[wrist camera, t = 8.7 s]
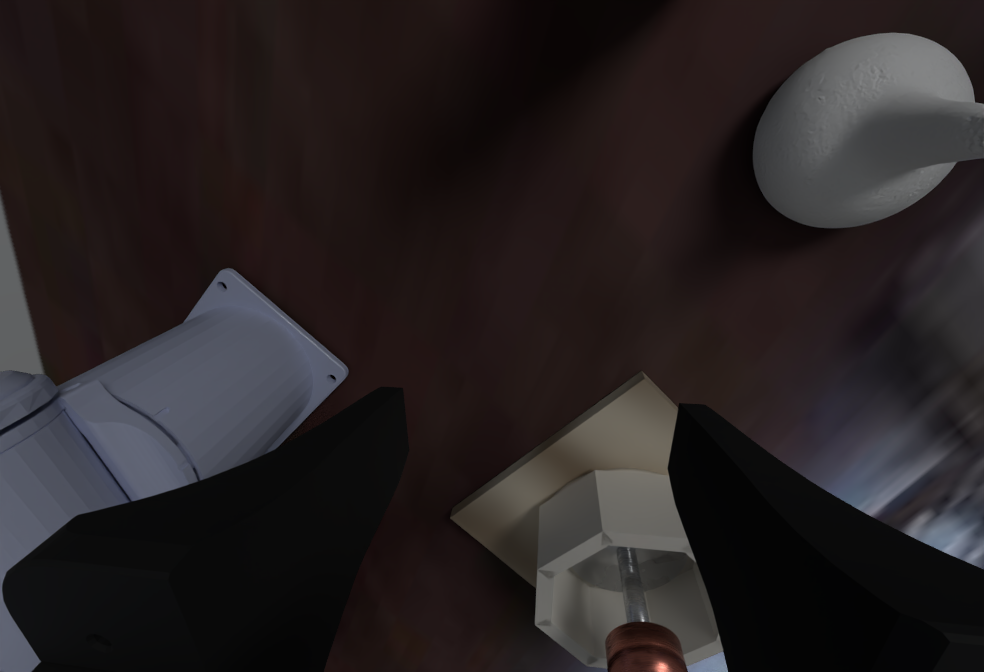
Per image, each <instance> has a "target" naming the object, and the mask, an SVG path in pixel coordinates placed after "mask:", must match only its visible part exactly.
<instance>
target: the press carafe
mask: <svg viewBox="0 0 984 672" xmlns="http://www.w3.org/2000/svg"><path fill="white" fill-rule="evenodd" d="M609 545H610V546H621V547H632V548H643V549H653V550H664V551H675V552H685V553H686V554H687V555H688V558H687V561H686V564H685V565H684V567H683V569H682V570H681V572H680V573H679V574H678V575H677V576H676V577H675V578H673V579H672V580H671V581H669V582H668V583H666V584H664V585H662V586H660V587H658V588H655V589H651V590H648V591H644V596H645V601H646V606H647V611H648V616H649V621H650V622H651V623H656V624H659V625H662V626H664V627H666V628H668V629H670V630H671V631H672V632H674V633H675V634H676V636H677V637H678V638H679V640H680V643H681V647H682V651H683V655H684V659H685V663H686V666H689V665H691V664H694V663H696V662H698V661H701V660H703V659H706V658H708V657H710V656H713V655H715V654H718V653H720V652H723V648H722V644H721V640H720V636H719V632H718V628H717V624H716V621H715V617H714V613H713V609H712V606H711V603H710V600H709V597H708V594H707V590H706V587H705V585H704V582H703V579H702V577H701V574H700V571H699V569H698V566H697V563H696V560H695V558H694V555H693V552H692V550H691V547H690V544H689V541H688V539H687V536H686V533H685V531H684V528H683V525H682V522H681V519H680V517H679V514H678V511H677V508H676V505H675V501H674V497H673V493H672V488H671V484H670V479H669V475H662V474H660V473H657V472H653V471H649V470H644V469H637V468H610V469H604V470H594V471H593V472H591V473H588V474H585V475H583V476H580V477H578V478H576V479H574V480H572V481H571V482H569V483H567V484H566V485H565V486H563V487H562V488H561V489H559V490H558V491H557V492H556V493H555V494H554V495H553V497H552V498H551V499H550V500H549V501H547V502H545V503H544V504H542V505H541V506H540V508H539V532H538V556H537V582H536V609H535V625H536V626H537V627H538V628H540V629H541V630H542V631H543V632H545V633H546V634H547V635H548V636H550V637H551V638H552V639H553V640H555V641H556V642H557V643H558V644H560V645H561V646H562V647H563V648H565V649H566V650H567V651H568V652H570V653H571V654H572V655H573V656H575V657H576V658H577V659H579V660H580V661H581V662H582V663H584V664H585V665H586V666H591V667H599V668H607V659H606V649H605V641H606V638H607V636H608V634H609V633H610V632H611V631H612V630H613V629H615V628H616V627H618V626H620V625H623V624H626V623H627V618H626V612H625V605H624V599H623V592H614V591H609V590H605V589H602V588H599V587H597V586H595V585H592V584H591V583H589V582H587V581H586V580H584V579H583V578H582V577H580V576H579V575H578V574H577V573H576V572H575V571H574V569H573V568H572V566H574V565H575V564H577V563H579V562H581V561H582V560H584V559H586V558H588V557H589V556H591V555H593V554H595V553H596V552H598V551H600V550H602V549H603V548H605V547H607V546H609ZM607 669H608V668H607Z"/></svg>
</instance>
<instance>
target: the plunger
mask: <svg viewBox="0 0 984 672" xmlns="http://www.w3.org/2000/svg"><path fill="white" fill-rule="evenodd" d="M687 558H688V555H687V554H686V553H685V552H675V551H664V550H653V549H643V548H632V547H621V546H610V545H609V546H607V547H605V548H603V549H602V550H600V551H598V552H596V553H595V554H593V555H591V556H589V557H588V558H586V559H584V560H582V561H581V562H579V563H577V564H575V565H574V566H572V568H573V569H574V571H575V572H576V573H577V574H578V575H579V576H580V577H582V578H583V579H584V580H586V581H587V582H589V583H591V584H592V585H595V586H597V587H599V588H602V589H605V590H609V591H614V592H623V599H624V605H625V612H626V618H627V623H626V624H623V625H620V626H618V627H616V628H615V629H613V630H612V631H611V632H610V633H609V634H608V636H607V638H606V641H605V649H606V659H607V668H608V672H688V671H687V667H686V663H685V659H684V655H683V651H682V647H681V643H680V640H679V638H678V637H677V636H676V634H675V633H674V632H672V631H671V630H670V629H668V628H666V627H664V626H662V625H659V624H656V623H651V622H650V621H649V616H648V611H647V606H646V601H645V596H644V591H648V590H651V589H655V588H658V587H660V586H662V585H664V584H666V583H668V582H669V581H671V580H672V579H673V578H675V577H676V576H677V575H678V574H679V573H680V572H681V570H682V569H683V567H684V565H685V564H686V561H687Z"/></svg>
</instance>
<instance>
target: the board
mask: <svg viewBox="0 0 984 672" xmlns="http://www.w3.org/2000/svg"><path fill="white" fill-rule="evenodd" d="M677 413H678V408H677V407H676V406H675V404H674V403H673V402H672V401H671V400H670V399H669V398H668V397H667V396H666V395H665V394H664V393H663V392H662V391H661V390H660V389H659V388H658V387H657V386H656V385H655V384H654V383H653V382H652V381H651V380H650V379H649V378H648V377H647V376H646V375H645V374H644V373H643V372H642V371H641V372H639V373H638V374H637V375H635V376H634V377H632V378H631V379H630V380H628V381H627V382H626V383H624V384H623V385H621V386H620V387H619V388H617V389H616V390H615V391H613V392H612V393H610V394H609V395H608V396H606V397H605V398H604V399H602V400H601V401H599V402H598V403H597V404H595V405H594V406H592V407H591V408H590V409H588V410H587V411H586V412H584V413H583V414H581V415H580V416H579V417H577V418H576V419H575V420H573V421H572V422H570V423H569V424H568V425H566V426H565V427H564V428H562V429H561V430H559V431H558V432H557V433H555V434H554V435H552V436H551V437H550V438H548V439H547V440H546V441H544V442H543V443H541V444H540V445H539V446H537V447H536V448H535V449H533V450H532V451H530V452H529V453H528V454H526V455H525V456H524V457H522V458H521V459H519V460H518V461H517V462H515V463H514V464H512V465H511V466H510V467H508V468H507V469H506V470H504V471H503V472H501V473H500V474H499V475H497V476H496V477H495V478H493V479H492V480H490V481H489V482H488V483H486V484H485V485H484V486H482V487H481V488H479V489H478V490H477V491H475V492H474V493H472V494H471V495H470V496H468V497H467V498H466V499H464V500H463V501H461V502H460V503H459V504H457V505H456V506H455V507H453V508H452V512H451V516H450V518H451V519H452V520H453V521H454V522H455V523H457V524H458V525H459V526H460V527H462V528H463V529H464V530H465V531H466V532H468V533H469V534H470V535H471V536H473V537H474V538H475V539H476V540H477V541H479V542H480V543H481V544H482V545H484V546H485V547H486V548H487V549H488V550H490V551H491V552H492V553H493V554H495V555H496V556H497V557H498V558H499V559H501V560H502V561H503V562H504V563H506V564H507V565H508V566H509V567H510V568H512V569H513V570H514V571H515V572H516V573H518V574H519V575H520V576H521V577H523V578H524V579H525V580H526V581H527V582H529V583H530V584H531V585H532V586H534V587H535V588H536V582H537V556H538V532H539V508H540V506H541V505H542V504H544V503H545V502H547V501H549V500H550V499H551V498H552V497H553V495H554V494H555V493H556V492H557V491H558V490H559V489H561V488H562V487H563V486H565V485H566V484H567V483H569V482H571V481H572V480H574V479H576V478H578V477H580V476H583V475H585V474H588V473H591V472H593V471H594V470H604V469H610V468H637V469H644V470H649V471H653V472H657V473H660V474H662V475H669V474H668V469H667V468H668V462H669V457H670V451H671V446H672V440H673V435H674V429H675V424H676V418H677Z"/></svg>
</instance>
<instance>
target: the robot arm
mask: <svg viewBox="0 0 984 672" xmlns="http://www.w3.org/2000/svg"><path fill="white" fill-rule="evenodd" d="M222 282H223V283H225V285H226V286H227V289H226V288H224V287H223V285H222ZM348 372H349V371H348V368H347V367H346V365H345V364H344V363H342V362H341V361H340V360H339V359H338V358H337V357H335V356H334V355H333V354H332V353H331V352H330V351H328V350H327V349H326V348H325V347H324V346H323V345H321V344H320V343H319V342H318V341H317V340H316V339H314V338H313V337H312V336H311V335H310V334H309V333H307V332H306V331H305V330H304V329H303V328H302V327H300V326H299V325H298V324H297V323H296V322H295V321H293V320H292V319H291V318H290V317H289V316H288V315H286V314H285V313H284V312H283V311H282V310H281V309H279V308H278V307H277V306H276V305H275V304H274V303H272V302H271V301H270V300H269V299H268V298H267V297H265V296H264V295H263V294H262V293H261V292H260V291H258V290H257V289H256V288H255V287H254V286H253V285H251V284H250V283H249V282H248V281H247V280H246V279H244V278H243V277H242V276H241V275H240V274H239V273H237V272H236V271H235V270H233V269H230V268H227V269H224V270H221V271H220V272H219V273H218V275H217V276H216V277H215V279H214V280H213V282H212V283H211V284H210V286H209V287H208V289H207V290H206V291H205V293H204V294H203V296H202V297H201V299H200V300H199V301H198V303H197V304H196V306H195V307H194V308H193V310H192V311H191V313H190V314H189V315H188V317H187V318H186V320H185V321H184V323H183V324H181V325H179V326H177V327H175V328H173V329H171V330H169V331H167V332H165V333H163V334H161V335H159V336H157V337H155V338H153V339H151V340H149V341H147V342H145V343H143V344H141V345H139V346H137V347H135V348H133V349H131V350H129V351H127V352H125V353H123V354H121V355H119V356H117V357H115V358H113V359H111V360H109V361H107V362H105V363H103V364H101V365H99V366H97V367H95V368H93V369H91V370H89V371H87V372H85V373H83V374H81V375H79V376H77V377H75V378H73V379H71V380H69V381H67V382H65V383H63V384H61V385H59V386H57V387H56V386H55V385H54V383H53V382H52V380H51V379H50V378H49V377H48V376H47V375H43V374H35V375H31V374H28V373H23V372H18V371H12V370H9V371H3V372H0V672H324V669H325V665H326V662H327V659H328V656H329V653H330V650H331V647H332V644H333V641H334V638H335V635H336V632H337V629H338V626H339V623H340V620H341V617H342V614H343V611H344V608H345V605H346V602H347V599H348V597H349V594H350V591H351V588H352V585H353V583H354V580H355V577H356V574H357V572H358V569H359V567H360V564H361V562H362V560H363V557H364V555H365V553H366V551H367V549H368V547H369V545H370V543H371V540H372V538H373V536H374V534H375V532H376V530H377V528H378V526H379V524H380V522H381V520H382V517H383V515H384V513H385V511H386V509H387V507H388V505H389V503H390V501H391V498H392V496H393V494H394V492H395V490H396V488H397V485H398V483H399V481H400V478H401V475H402V472H403V469H404V465H405V462H406V459H407V455H408V452H409V444H408V434H407V424H406V414H405V404H404V395H403V388H394V387H380V388H378V389H376V390H374V391H373V392H371V393H369V394H368V395H366V396H365V397H363V398H361V399H360V400H358V401H357V402H355V403H354V404H352V405H351V406H349V407H347V408H346V409H344V410H343V411H341V412H339V413H338V414H336V415H335V416H333V417H332V418H330V419H328V420H327V421H325V422H323V423H322V424H320V425H318V426H317V427H315V428H313V429H311V430H310V431H308V432H306V433H304V434H303V435H301V436H299V437H297V438H296V439H294V440H292V441H290V442H288V443H287V444H285V445H283V446H281V447H279V448H277V447H278V446H279V445H280V444H281V443H282V442H283V441H284V440H285V439H286V438H287V437H288V436H289V435H290V434H291V433H292V432H293V431H294V430H295V429H296V428H297V427H298V426H299V425H300V424H301V423H302V422H303V421H304V420H305V419H306V418H307V417H308V416H309V415H310V414H311V413H312V412H313V411H314V410H315V409H316V408H317V407H318V406H319V405H320V404H321V403H322V402H323V401H324V400H325V399H326V398H327V397H328V396H329V395H330V394H331V392H332V391H333V390H334V389H335V388H336V387H337V386H338V385H339V384H340V383H341V382H342V381H343V380H344V379H345V378H346V377H347V376H348ZM330 375H333V376H335V378H336V380H334V379H332V378H331V377H330ZM276 448H277V449H276ZM667 469H668V474H669V479H670V484H671V488H672V493H673V497H674V501H675V505H676V508H677V511H678V514H679V517H680V519H681V522H682V525H683V528H684V531H685V533H686V536H687V539H688V541H689V544H690V547H691V550H692V552H693V555H694V558H695V560H696V563H697V566H698V569H699V571H700V574H701V577H702V579H703V582H704V585H705V587H706V590H707V594H708V597H709V600H710V603H711V606H712V609H713V613H714V617H715V621H716V624H717V628H718V632H719V636H720V640H721V644H722V648H723V652H724V656H725V660H726V664H727V668H728V672H984V570H983V569H981V568H979V567H977V566H974V565H972V564H970V563H967V562H965V561H963V560H960V559H958V558H956V557H953V556H951V555H949V554H947V553H944V552H942V551H940V550H938V549H936V548H934V547H931V546H929V545H927V544H925V543H923V542H921V541H918V540H916V539H914V538H912V537H910V536H908V535H906V534H904V533H902V532H900V531H898V530H896V529H894V528H892V527H890V526H888V525H886V524H884V523H882V522H880V521H878V520H877V519H875V518H873V517H871V516H869V515H867V514H865V513H864V512H862V511H860V510H858V509H856V508H854V507H853V506H851V505H849V504H848V503H846V502H844V501H842V500H841V499H839V498H837V497H836V496H834V495H832V494H830V493H829V492H827V491H825V490H824V489H822V488H820V487H819V486H817V485H816V484H814V483H812V482H811V481H809V480H808V479H806V478H805V477H803V476H802V475H800V474H799V473H797V472H796V471H794V470H793V469H791V468H790V467H788V466H787V465H786V464H784V463H783V462H781V461H780V460H778V459H777V458H776V457H774V456H773V455H771V454H770V453H769V452H767V451H766V450H765V449H763V448H762V447H760V446H759V445H758V444H756V443H755V442H754V441H752V440H751V439H750V438H749V437H747V436H746V435H745V434H743V433H742V432H741V431H739V430H738V429H737V428H736V427H734V426H733V425H732V424H730V423H729V422H728V421H727V420H725V419H724V418H723V417H721V416H720V415H719V414H717V413H716V412H715V411H713V410H712V409H710V408H709V407H707V406H706V405H702V404H683V403H679V407H678V413H677V418H676V424H675V429H674V435H673V440H672V446H671V451H670V457H669V462H668V468H667Z"/></svg>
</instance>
